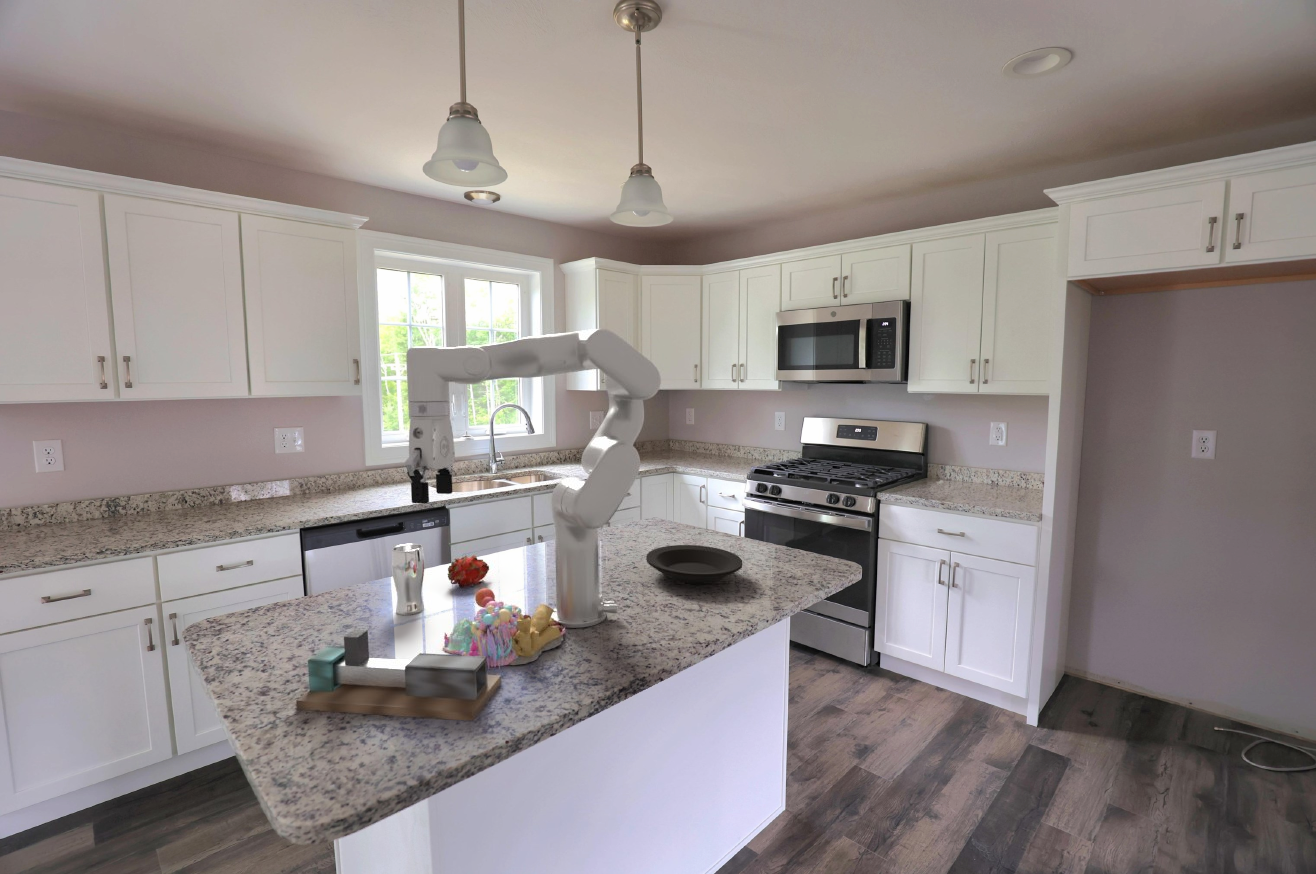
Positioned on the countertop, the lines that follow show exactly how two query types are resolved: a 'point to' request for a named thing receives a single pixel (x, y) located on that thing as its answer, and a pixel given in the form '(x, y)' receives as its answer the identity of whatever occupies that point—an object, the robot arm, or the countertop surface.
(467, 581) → the dragon fruit
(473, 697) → the tube rig
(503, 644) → the candy landscape model
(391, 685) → the inner tube
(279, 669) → the countertop surface
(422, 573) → the beer glass
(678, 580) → the plate
